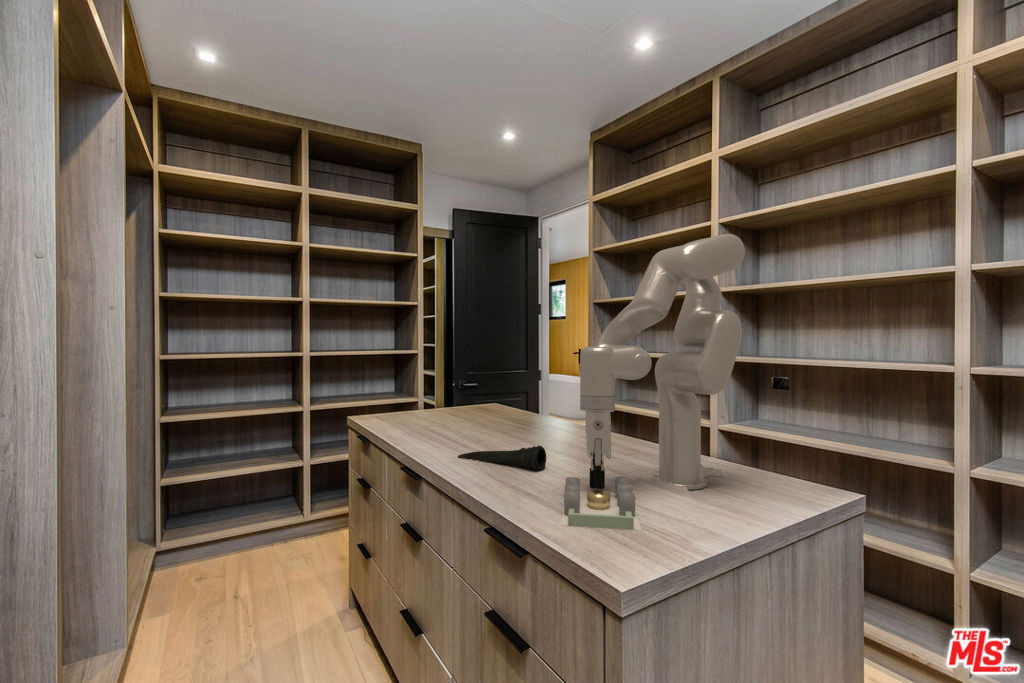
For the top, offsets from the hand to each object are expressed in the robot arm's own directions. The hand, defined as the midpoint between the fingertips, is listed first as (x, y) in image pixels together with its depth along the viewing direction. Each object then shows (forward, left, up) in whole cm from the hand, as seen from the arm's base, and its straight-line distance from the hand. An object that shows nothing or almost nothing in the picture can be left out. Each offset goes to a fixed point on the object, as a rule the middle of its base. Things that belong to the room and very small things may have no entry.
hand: (597, 487), depth 104 cm
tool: (+26, -25, -3) cm, 36 cm away
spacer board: (0, +9, -2) cm, 10 cm away
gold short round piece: (0, +8, -1) cm, 8 cm away
